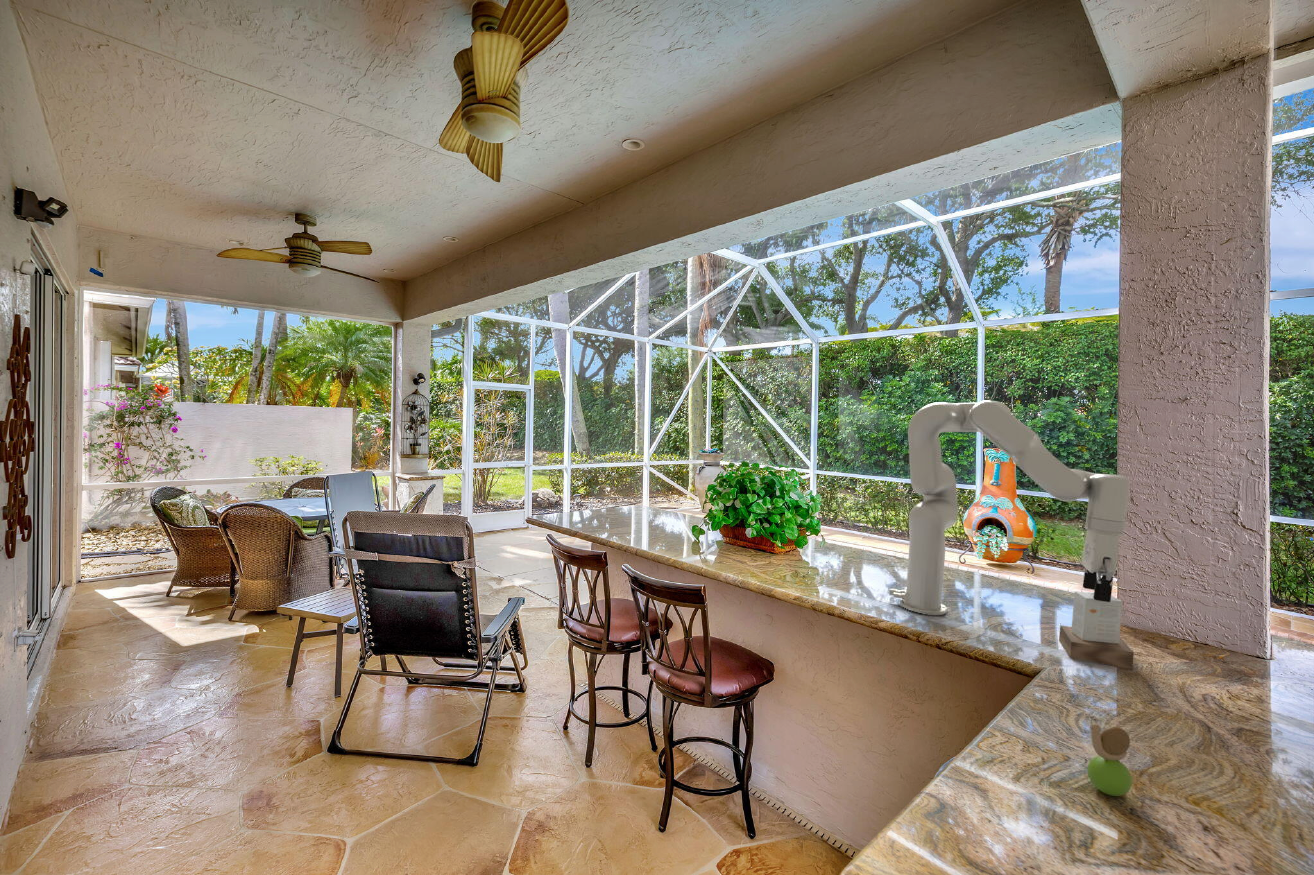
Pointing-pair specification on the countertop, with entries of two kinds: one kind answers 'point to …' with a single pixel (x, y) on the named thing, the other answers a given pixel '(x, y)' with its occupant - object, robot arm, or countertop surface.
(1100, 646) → the walnut plinth
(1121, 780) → the snail figurine
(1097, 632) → the small box
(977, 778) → the countertop surface
